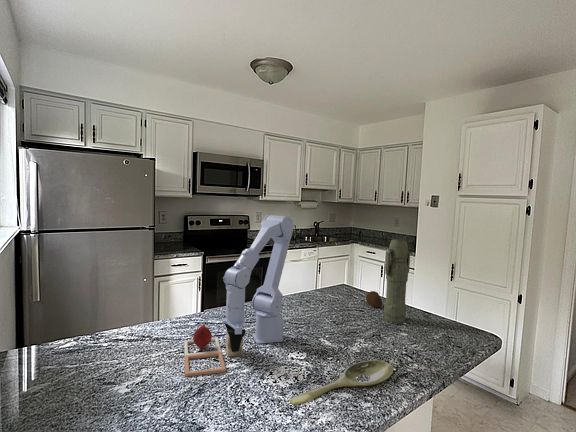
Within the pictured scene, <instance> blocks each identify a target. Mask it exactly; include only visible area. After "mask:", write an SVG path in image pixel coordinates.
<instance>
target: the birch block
mask: <svg viewBox="0 0 576 432" xmlns="http://www.w3.org/2000/svg"><path fill="white" fill-rule="evenodd" d="M225 333H226V335H225V353H226V356H227V357H236V356H237V357H238V356H239V357H240V356H243V340H244V339H243V338H244V337H243V338H242V341H241V345H240V348H239V351H238V352H232V350H231V343H230V337H229V335H228V333H227V331H226V332H225Z"/></svg>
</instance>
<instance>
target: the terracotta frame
mask: <svg viewBox="0 0 576 432" xmlns="http://www.w3.org/2000/svg"><path fill="white" fill-rule="evenodd" d="M212 357H213V358H215V357H218V361H219V365H220V367H217V368H210V369H201V370H192V371H190V369H189V360H192V359H193V360H194V359H202V358H203V359H204V358H212ZM226 371H227V369H226V364H225V362H224V357H223V353H222V351H221V352H214V353H204V354H194V355H185V354H184V377H185V378H186V377H193V376H194V377H195V376H196V377H197V376H202V375H212V374H219V373H227V372H226Z"/></svg>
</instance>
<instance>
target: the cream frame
mask: <svg viewBox="0 0 576 432" xmlns="http://www.w3.org/2000/svg"><path fill="white" fill-rule="evenodd" d="M183 342H184V343H183V346H184V349H183V351H184V356H185V355H194V354H204V353H214V352H221V353H222V350H221V349H222V348H221V345H220V342H219V338H218V337H212V338H211V341H210V343H211V342H212V343H213V342H214V344H215V348H216V350H213V351H202V352H192V353H191V352H189V346H188V345H190V344H195V343H194V341H193V339H185V340H184V341H183Z"/></svg>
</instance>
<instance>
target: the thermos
mask: <svg viewBox="0 0 576 432" xmlns="http://www.w3.org/2000/svg"><path fill="white" fill-rule="evenodd" d="M410 264H411V252H410V251H409V244H408V241H407V240H406V239H405V238H392V239H391V240H390V243H389V247H388V250H387V251H386V253H385V268H384V269H385V270H384V272H385V279H386V290H385V291H386V292H385V302H384V306H383V307H384V309H383V314H384V316H383V319H385V320H384V321H386V320H387V321H389V322H388V323H390V322H392V323H391V324H395V323H398V324H399V323H402V324H404V322H406V316H407V305H406V297H407V295H406V294H407V293H406V292H407V283H408V279H409V273H410ZM387 321H386V322H387ZM398 324H397V325H398ZM399 325H400V324H399Z"/></svg>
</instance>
